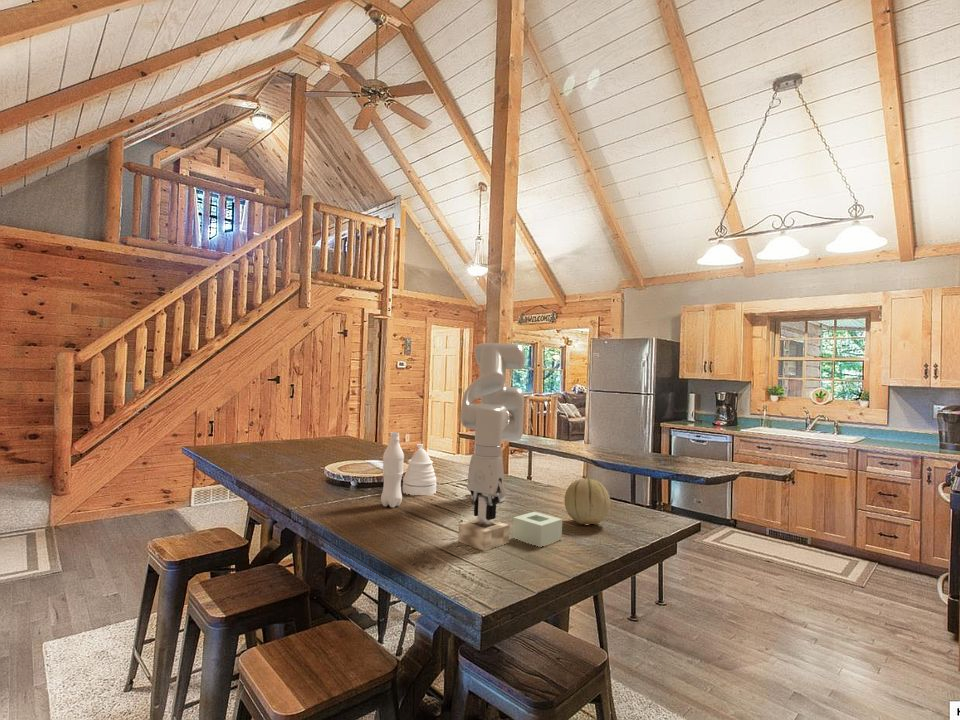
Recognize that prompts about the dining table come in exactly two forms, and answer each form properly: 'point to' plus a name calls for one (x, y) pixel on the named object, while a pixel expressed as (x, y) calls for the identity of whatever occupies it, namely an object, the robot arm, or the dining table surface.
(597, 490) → the cantaloupe
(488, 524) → the steel peg
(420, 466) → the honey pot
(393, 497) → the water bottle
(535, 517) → the block
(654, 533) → the dining table surface
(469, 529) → the socket block
